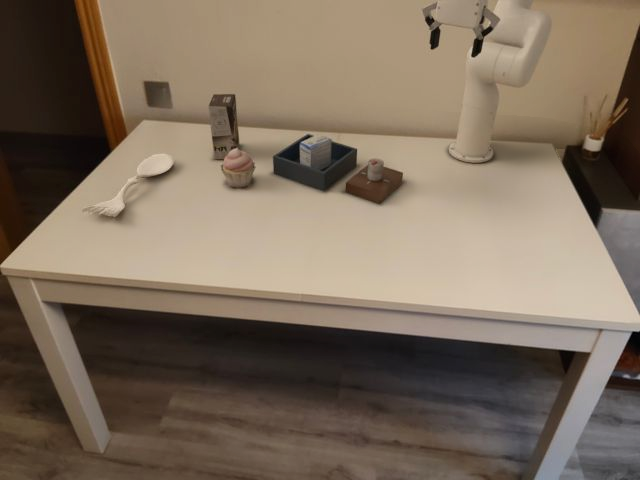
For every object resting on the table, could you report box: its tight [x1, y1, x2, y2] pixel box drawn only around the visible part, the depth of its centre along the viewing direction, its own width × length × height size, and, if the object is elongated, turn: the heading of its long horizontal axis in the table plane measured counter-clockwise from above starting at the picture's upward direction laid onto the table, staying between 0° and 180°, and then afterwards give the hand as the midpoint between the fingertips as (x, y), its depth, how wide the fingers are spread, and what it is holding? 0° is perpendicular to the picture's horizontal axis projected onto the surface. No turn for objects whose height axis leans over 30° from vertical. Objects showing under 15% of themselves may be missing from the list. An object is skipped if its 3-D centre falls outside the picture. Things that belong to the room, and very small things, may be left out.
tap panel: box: [344, 164, 404, 205], centre depth 143 cm, size 13×10×3 cm
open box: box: [272, 133, 358, 192], centre depth 150 cm, size 17×17×5 cm
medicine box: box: [300, 133, 332, 170], centre depth 149 cm, size 8×4×9 cm, turn 134°
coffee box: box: [208, 93, 241, 160], centre depth 155 cm, size 9×6×16 cm
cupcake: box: [220, 148, 257, 189], centre depth 143 cm, size 9×9×10 cm
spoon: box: [82, 153, 174, 218], centre depth 141 cm, size 9×32×4 cm, turn 164°
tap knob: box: [367, 157, 385, 181], centre depth 141 cm, size 4×4×5 cm
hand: (454, 52), depth 123 cm, fingers open, 9 cm apart
